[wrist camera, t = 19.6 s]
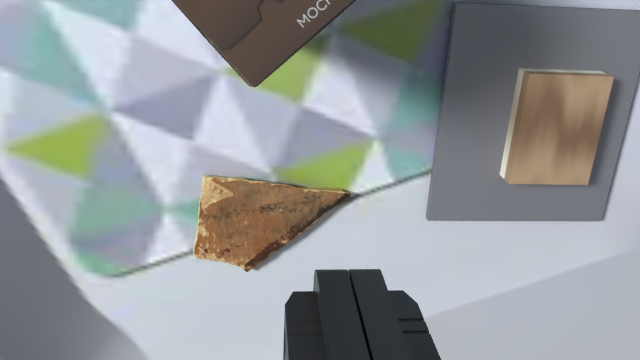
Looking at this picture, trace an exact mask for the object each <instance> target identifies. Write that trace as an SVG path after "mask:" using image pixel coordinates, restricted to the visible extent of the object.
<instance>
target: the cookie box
mask: <svg viewBox="0 0 640 360" xmlns="http://www.w3.org/2000/svg"><path fill="white" fill-rule="evenodd" d="M172 1H173V2H174V4H175V5H176V6H177V7H178V8H179V9H180V10H181V11H182V13H183V14H184V15H185V16H186V17H187V18H188V19H189V20H190V21H191V23H192V24H193V25H194V26H195V27H196V28H197V29H198V30H199V32H200V33H201V34H202V35H203V36H204V37H205V38H206V39H207V41H208V42H209V43H210V44H211V45H212V46H213V47H214V48H215V49H216V50H217V51H218V53H219V54H220V55H221V56H222V57H223V58H224V59H225V60H226V61H227V62H228V64H229V65H230V66H231V67H232V68H233V69H234V70H235V71H236V72H237V74H238V75H239V76H240V77H241V78H242V79H243V80H244V81H245V82H246V83H247V84H248V85H249V86H251V87H256V86H258V85H259V84H260V83H261V82H263V81H264V80H265V79H266V78H267V77H269V76H270V75H271V74H272V73H273V72H275V71H276V70H277V69H278V68H279V67H280V66H281V65H283V64H284V63H285V62H286V61H287V60H288V59H289V58H291V57H292V56H293V55H294V54H295V53H296V52H297V51H299V50H300V49H301V48H302V47H303V46H304V45H305V44H306V43H308V42H309V41H310V40H311V39H312V38H313V37H315V36H316V35H317V34H318V33H319V32H320V31H321V30H323V29H324V28H325V27H326V26H327V25H328V24H330V23H331V22H332V21H333V20H334V19H335V18H336V17H338V16H339V15H340V14H341V13H342V12H343V11H344V10H346V9H347V8H348V7H349V6H350V5H351V4H352V3H353V2H355V1H356V0H172Z"/></svg>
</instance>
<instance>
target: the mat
mask: <svg viewBox="0 0 640 360" xmlns="http://www.w3.org/2000/svg"><path fill="white" fill-rule="evenodd" d="M519 68H527V69H557V70H587V71H602V72H604V73H606V74H609V75H611V76H614V79H613V83H612V87H611V91H610V95H609V99H608V104H607V108H606V112H605V116H604V120H603V124H602V128H601V132H600V137H599V141H598V145H597V149H596V153H595V157H594V161H593V165H592V170H591V174H590V178H589V182H588V185H551V184H508V183H507V182H506V181H505V180H504V179H503V177H502V176H501V175H500V170H501V164H502V159H503V153H504V148H505V142H506V136H507V131H508V125H509V120H510V114H511V109H512V103H513V98H514V92H515V86H516V81H517V75H518V70H519ZM639 72H640V10H621V9H597V8H574V7H550V6H527V5H503V4H480V3H456V2H454V6H453V14H452V21H451V29H450V37H449V44H448V52H447V60H446V67H445V75H444V83H443V90H442V98H441V106H440V113H439V121H438V128H437V136H436V144H435V151H434V159H433V167H432V174H431V182H430V190H429V197H428V205H427V213H426V218H427V220H459V221H601V220H602V216H603V212H604V209H605V205H606V201H607V197H608V193H609V189H610V185H611V181H612V177H613V173H614V169H615V166H616V162H617V158H618V154H619V150H620V146H621V142H622V138H623V134H624V130H625V127H626V123H627V119H628V115H629V111H630V107H631V103H632V99H633V95H634V91H635V87H636V84H637V80H638V76H639Z"/></svg>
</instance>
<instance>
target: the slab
mask: <svg viewBox="0 0 640 360" xmlns="http://www.w3.org/2000/svg"><path fill="white" fill-rule="evenodd" d="M613 79H614V76H611V75H609V74H606V73H604V72H602V71H587V70H557V69H527V68H519V70H518V75H517V81H516V86H515V92H514V98H513V103H512V109H511V114H510V120H509V125H508V131H507V136H506V142H505V148H504V153H503V159H502V164H501V170H500V175H501V176H502V177H503V179H504V180H505V181H506V182H507V183H508V184H551V185H588V182H589V178H590V174H591V170H592V165H593V161H594V157H595V153H596V149H597V145H598V141H599V137H600V132H601V128H602V124H603V120H604V116H605V112H606V108H607V104H608V99H609V95H610V91H611V87H612V83H613Z"/></svg>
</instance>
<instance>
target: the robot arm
mask: <svg viewBox="0 0 640 360" xmlns="http://www.w3.org/2000/svg"><path fill="white" fill-rule="evenodd" d="M283 360H441V358H440V356H439V354H438V352H437V349H436V347H435V344H434V342H433V339H432V337H431V335H430V334H429V330H428V328H427V325H426V323H425V322H424V318H423V316H422V313H421V311H420V308H419V306H418V304H417V303H416V302H415V301H414V300H413V299H412V298H411V297H410V296H409V295H407V294H406V293H405V292H404V291H388V289H387V287H386V284H385V281H384V278H383V275H382V273H381V270H380V269H349V270H348V271H347V270H315V274H314V288H313V291H306V292H293V293H292V295H291V296H290V298H289V299H288V301H287V303H286V304H285V321H284V352H283Z"/></svg>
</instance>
